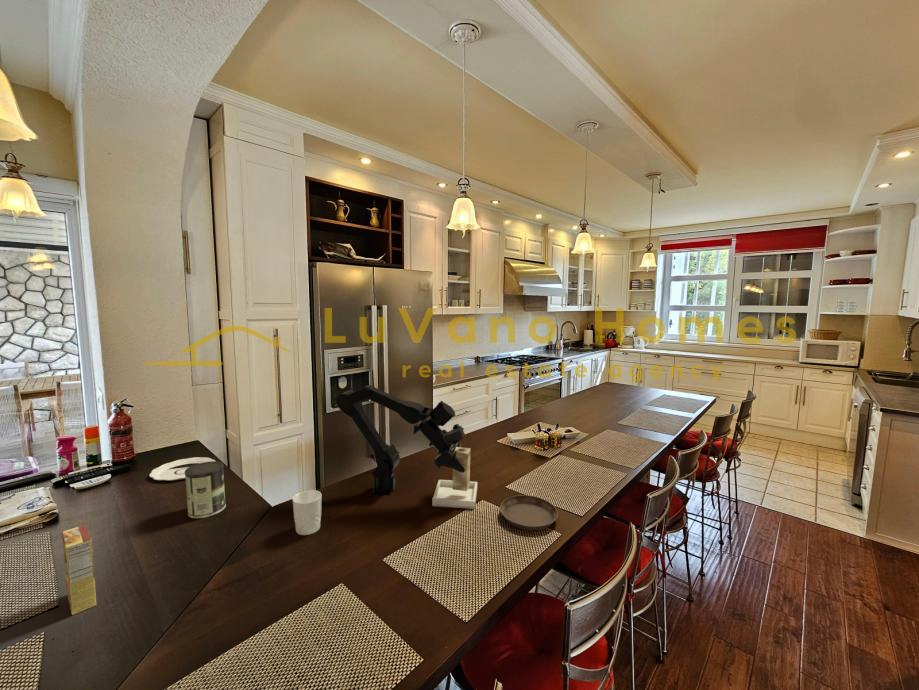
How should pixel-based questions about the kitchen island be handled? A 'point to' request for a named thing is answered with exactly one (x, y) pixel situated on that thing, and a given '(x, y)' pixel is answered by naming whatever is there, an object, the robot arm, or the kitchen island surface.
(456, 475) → the maple block
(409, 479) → the kitchen island surface
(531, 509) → the plant saucer
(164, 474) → the plate
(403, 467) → the kitchen island surface
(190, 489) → the coffee can
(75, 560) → the candy box
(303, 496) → the white cup
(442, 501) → the tray
